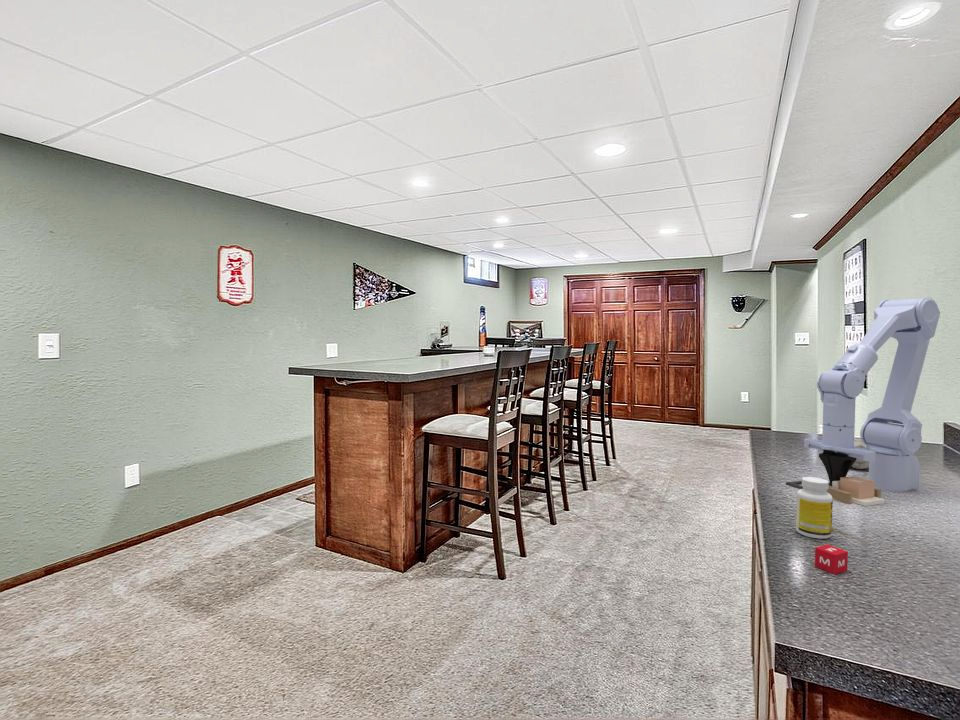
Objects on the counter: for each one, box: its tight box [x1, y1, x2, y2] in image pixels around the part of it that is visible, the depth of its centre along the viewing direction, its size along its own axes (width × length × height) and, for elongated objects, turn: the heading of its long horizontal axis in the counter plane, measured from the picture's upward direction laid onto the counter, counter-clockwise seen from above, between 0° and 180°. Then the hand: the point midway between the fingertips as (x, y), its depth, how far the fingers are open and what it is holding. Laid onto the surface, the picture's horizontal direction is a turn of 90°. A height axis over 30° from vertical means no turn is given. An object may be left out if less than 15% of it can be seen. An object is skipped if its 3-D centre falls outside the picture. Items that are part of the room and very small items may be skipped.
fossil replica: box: [851, 439, 869, 470], centre depth 137 cm, size 12×8×10 cm
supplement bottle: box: [795, 476, 834, 540], centre depth 90 cm, size 5×5×10 cm
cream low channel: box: [832, 480, 886, 507], centre depth 107 cm, size 6×7×3 cm
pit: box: [785, 480, 832, 490], centre depth 117 cm, size 10×5×1 cm, turn 108°
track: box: [827, 486, 882, 505], centre depth 106 cm, size 10×16×3 cm, turn 18°
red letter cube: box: [814, 544, 849, 575], centre depth 77 cm, size 3×3×3 cm
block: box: [840, 475, 875, 499], centre depth 107 cm, size 4×4×4 cm
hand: (836, 486), depth 111 cm, fingers closed
